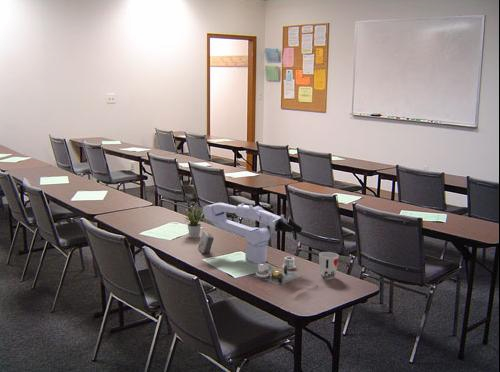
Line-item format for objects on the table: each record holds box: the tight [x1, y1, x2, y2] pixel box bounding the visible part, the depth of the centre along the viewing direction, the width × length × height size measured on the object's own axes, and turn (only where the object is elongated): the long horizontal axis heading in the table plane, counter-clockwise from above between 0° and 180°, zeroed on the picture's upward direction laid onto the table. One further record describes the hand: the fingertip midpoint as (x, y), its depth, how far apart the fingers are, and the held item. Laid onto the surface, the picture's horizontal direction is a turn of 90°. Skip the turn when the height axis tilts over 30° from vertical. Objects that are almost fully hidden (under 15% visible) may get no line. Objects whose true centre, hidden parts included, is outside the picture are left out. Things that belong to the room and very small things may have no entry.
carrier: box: [252, 264, 303, 286], centre depth 219 cm, size 15×15×4 cm
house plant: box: [183, 206, 206, 238], centre depth 277 cm, size 14×14×16 cm
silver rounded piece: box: [255, 262, 270, 279], centre depth 219 cm, size 6×6×5 cm
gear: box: [282, 256, 297, 270], centre depth 231 cm, size 6×6×5 cm
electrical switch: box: [197, 230, 215, 255], centre depth 253 cm, size 9×5×9 cm, turn 18°
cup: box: [318, 251, 339, 280], centre depth 222 cm, size 8×8×10 cm
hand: (296, 230), depth 223 cm, fingers open, 7 cm apart
